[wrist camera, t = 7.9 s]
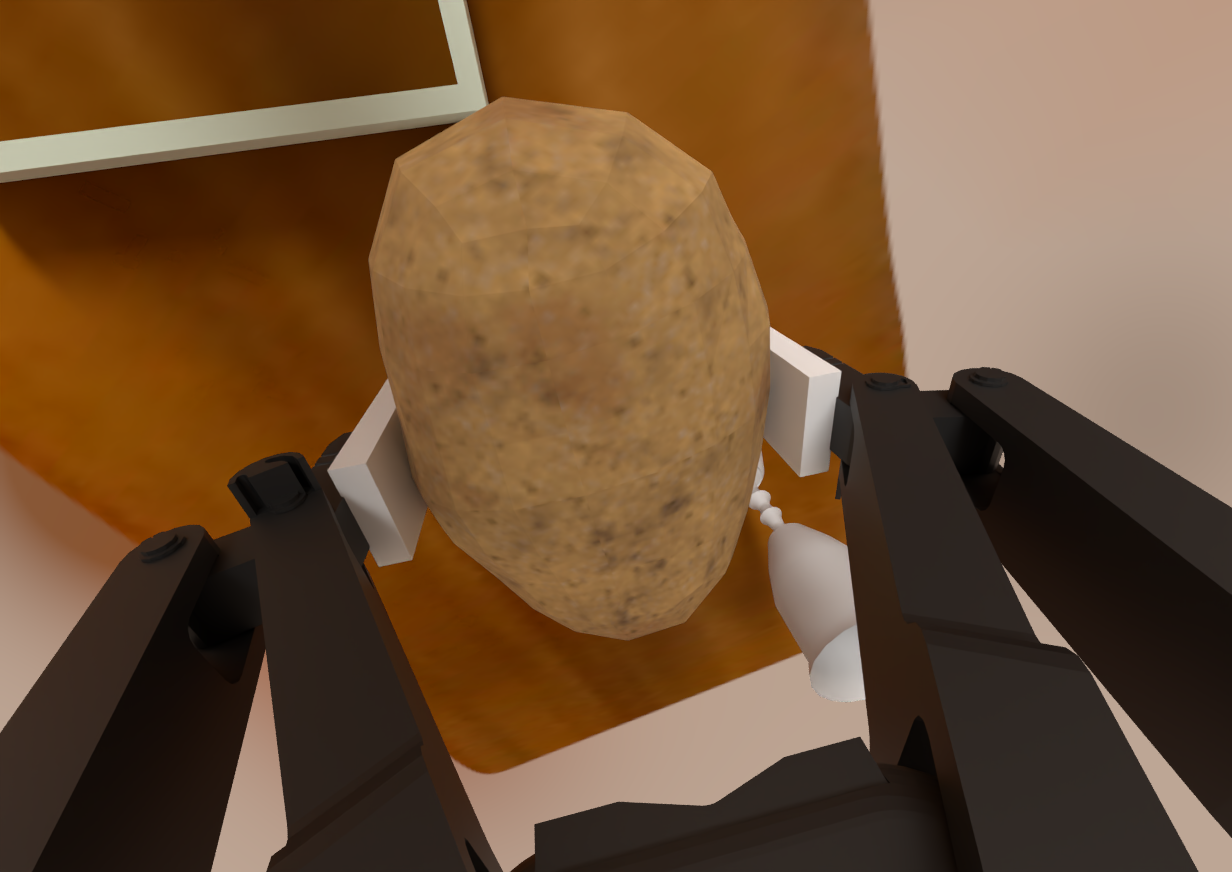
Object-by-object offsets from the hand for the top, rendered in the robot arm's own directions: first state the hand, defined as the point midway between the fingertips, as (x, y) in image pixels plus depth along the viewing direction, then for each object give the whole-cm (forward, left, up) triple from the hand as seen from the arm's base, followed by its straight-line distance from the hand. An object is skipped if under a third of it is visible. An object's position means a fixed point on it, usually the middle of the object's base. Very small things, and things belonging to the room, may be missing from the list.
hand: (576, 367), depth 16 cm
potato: (0, 0, 0) cm, 0 cm away
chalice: (+17, +12, -15) cm, 26 cm away
